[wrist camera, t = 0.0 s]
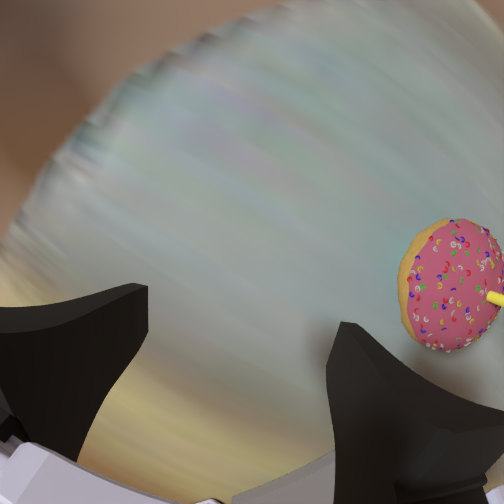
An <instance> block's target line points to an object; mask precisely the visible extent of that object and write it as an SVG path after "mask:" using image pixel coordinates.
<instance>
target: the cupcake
mask: <svg viewBox="0 0 504 504" xmlns="http://www.w3.org/2000/svg"><path fill="white" fill-rule="evenodd" d="M487 230H488V231H487ZM489 232H490V231H489V229H485V228H484V227H482V226H479V225H477V224H476V223H474V222H473V221H469V220H466V219H442V220H440V221H438V222H437V223H435V224H433V225H432V226H430V227H428V228H427V229H425V230H423V231H421V232H420V233H419V234H417V235H416V237H415V238H414V239H413V241H412V243H411V245H410V247H409V249H408V251H407V252H406V254H405V255H404V257H403V259H402V261H401V263H400V266H399V271H398V299H399V304H400V308H401V320H402V323H403V325H404V327H405V328H406V330H407V331H408V333H409V334H410V335H411V336H412V338H413V339H415V340H416V341H417V342H419V343H421V344H424V345H426V346H427V347H431V348H432V350H435V349H438V350H444V351H446V352H447V353H449V352H450V351H451V350H452V349H456V348H461V347H463V346H468V345H469V344H471V342H472V341H476V340H477V339H478V338H480V337H481V334H482V333H483V332H485V331H486V330H487V329H489V328H490V327H491V326H490V325H491V323H492V321H493V320H494V319H496V318H497V313H498V312H499V310H500V308H501V307H504V253H503V252H502V250H501V249H500V247H499V245H498V243H497V242H496V241H495V240H497V239H496V238H493V236H492V235H491V234H490V233H489ZM502 253H503V254H502ZM447 350H448V351H447Z"/></svg>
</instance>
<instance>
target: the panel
mask: <svg viewBox="0 0 504 504" xmlns="http://www.w3.org/2000/svg"><path fill="white" fill-rule="evenodd" d="M334 487H335V450H334V451H332V452H330V453H328V454H327V455H325V456H323V457H321V458H319V459H317V460H315V461H313V462H312V463H310V464H308V465H306V466H304V467H302V468H300V469H298V470H295V471H293V472H291V473H289V474H287V475H285V476H283V477H280V478H278V479H276V480H274V481H271V482H269V483H266V484H264V485H262V486H259V487H257V488H254V489H252V490H249V491H246V492H244V493H241V494H238V495H235V496H233V497H232V501H231V504H333V500H334Z"/></svg>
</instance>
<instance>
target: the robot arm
mask: <svg viewBox="0 0 504 504" xmlns="http://www.w3.org/2000/svg"><path fill="white" fill-rule="evenodd" d="M147 333H148V286H145V285H141V284H137V283H130V284H125V285H121V286H118V287H114V288H111V289H108V290H105V291H101V292H98V293H95V294H92V295H88V296H84V297H81V298H77V299H73V300H69V301H65V302H60V303H54V304H48V305H41V306H29V307H0V504H184V503H180V502H176V501H173V500H169V499H166V498H163V497H159V496H156V495H153V494H150V493H147V492H144V491H141V490H138V489H135V488H133V487H130V486H127V485H125V484H122V483H120V482H117V481H115V480H112V479H110V478H108V477H105V476H103V475H101V474H98V473H96V472H94V471H92V470H90V469H88V468H85V467H83V466H81V465H79V464H77V463H76V462H77V459H78V456H79V453H80V451H81V448H82V446H83V443H84V441H85V438H86V436H87V433H88V431H89V429H90V427H91V425H92V422H93V420H94V418H95V416H96V414H97V412H98V410H99V408H100V406H101V405H102V403H103V401H104V399H105V397H106V396H107V394H108V392H109V391H110V389H111V388H112V386H113V385H114V384H115V382H116V381H117V380H118V378H119V377H120V376H121V374H122V373H123V371H124V370H125V369H126V367H127V366H128V365H129V363H130V362H131V361H132V359H133V358H134V356H135V355H136V354H137V352H138V351H139V349H140V347H141V345H142V343H143V341H144V339H145V337H146V335H147ZM326 384H327V394H328V400H329V406H330V412H331V418H332V424H333V431H334V439H335V487H334V500H333V504H504V484H502V485H499V486H497V487H495V488H493V489H491V490H489V491H488V492H486V493H485V492H484V490H483V487H482V486H484V485H485V484H486V483H487V478H486V475H485V472H486V471H487V470H488V469H489V468H490V467H491V466H492V465H493V464H494V463H495V462H496V461H497V460H498V459H499V457H500V456H501V455H502V454H503V453H504V411H502V410H498V409H494V408H490V407H487V406H483V405H479V404H476V403H474V402H471V401H468V400H466V399H463V398H461V397H458V396H456V395H454V394H452V393H449V392H448V391H446V390H444V389H442V388H440V387H438V386H436V385H434V384H433V383H431V382H429V381H427V380H426V379H424V378H423V377H421V376H420V375H418V374H417V373H415V372H414V371H412V370H411V369H410V368H408V367H407V366H406V365H404V364H403V363H402V362H401V361H399V360H398V359H397V358H396V357H394V356H393V355H392V354H391V353H390V352H389V351H387V350H386V349H385V348H384V347H383V346H382V345H381V344H380V343H379V342H377V341H376V340H375V339H374V338H373V337H372V336H371V335H370V334H369V333H368V332H366V331H365V330H364V329H363V328H362V327H361V326H359V325H358V324H356V323H349V322H340V326H339V329H338V332H337V335H336V338H335V341H334V344H333V347H332V350H331V353H330V356H329V359H328V362H327V365H326ZM196 504H221V503H219V502H217V501H216V500H214V499H209V500H206V501H203V502H199V503H196Z"/></svg>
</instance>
